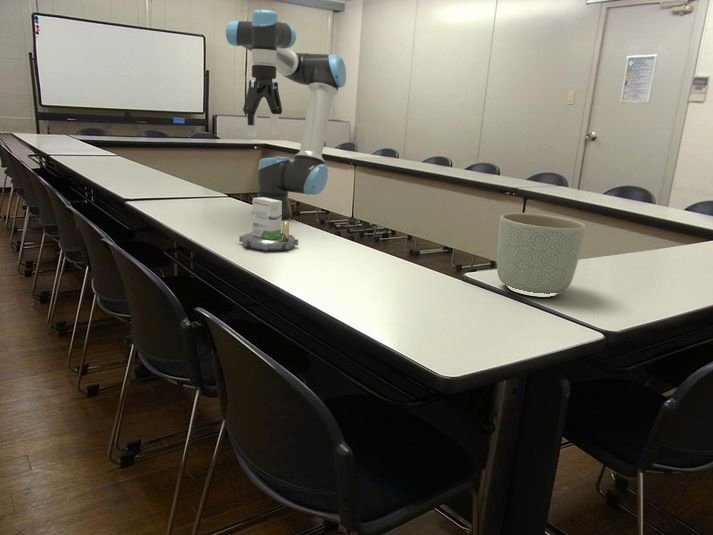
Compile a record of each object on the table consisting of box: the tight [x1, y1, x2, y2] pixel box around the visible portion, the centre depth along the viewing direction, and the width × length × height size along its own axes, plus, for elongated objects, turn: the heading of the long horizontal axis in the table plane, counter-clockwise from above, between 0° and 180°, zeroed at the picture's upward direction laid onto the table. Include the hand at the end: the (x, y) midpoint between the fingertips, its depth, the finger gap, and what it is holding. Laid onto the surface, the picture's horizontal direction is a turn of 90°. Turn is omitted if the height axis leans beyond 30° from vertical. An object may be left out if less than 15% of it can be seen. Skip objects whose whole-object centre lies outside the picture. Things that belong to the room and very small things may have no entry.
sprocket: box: [238, 220, 299, 251], centre depth 177 cm, size 18×18×8 cm
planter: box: [496, 212, 587, 294], centre depth 148 cm, size 21×21×19 cm
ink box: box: [251, 197, 282, 240], centre depth 176 cm, size 9×5×12 cm, turn 52°
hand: (263, 135), depth 183 cm, fingers open, 13 cm apart
